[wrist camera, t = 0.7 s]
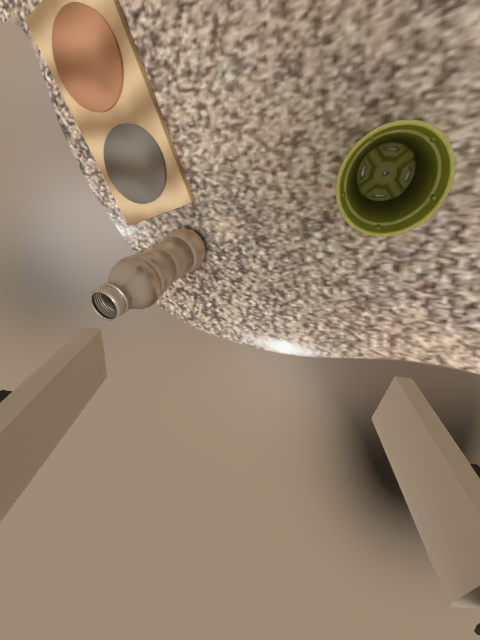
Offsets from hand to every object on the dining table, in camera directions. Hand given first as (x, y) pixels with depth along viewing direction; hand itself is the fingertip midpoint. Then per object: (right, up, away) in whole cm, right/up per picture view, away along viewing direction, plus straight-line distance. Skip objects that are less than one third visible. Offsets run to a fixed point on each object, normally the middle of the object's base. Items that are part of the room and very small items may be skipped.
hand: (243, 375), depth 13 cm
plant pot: (+16, +19, +19) cm, 32 cm away
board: (-17, +30, +25) cm, 43 cm away
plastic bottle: (-8, +15, +33) cm, 37 cm away
